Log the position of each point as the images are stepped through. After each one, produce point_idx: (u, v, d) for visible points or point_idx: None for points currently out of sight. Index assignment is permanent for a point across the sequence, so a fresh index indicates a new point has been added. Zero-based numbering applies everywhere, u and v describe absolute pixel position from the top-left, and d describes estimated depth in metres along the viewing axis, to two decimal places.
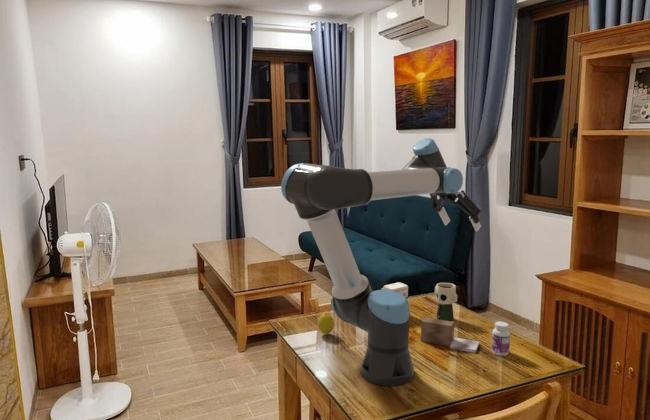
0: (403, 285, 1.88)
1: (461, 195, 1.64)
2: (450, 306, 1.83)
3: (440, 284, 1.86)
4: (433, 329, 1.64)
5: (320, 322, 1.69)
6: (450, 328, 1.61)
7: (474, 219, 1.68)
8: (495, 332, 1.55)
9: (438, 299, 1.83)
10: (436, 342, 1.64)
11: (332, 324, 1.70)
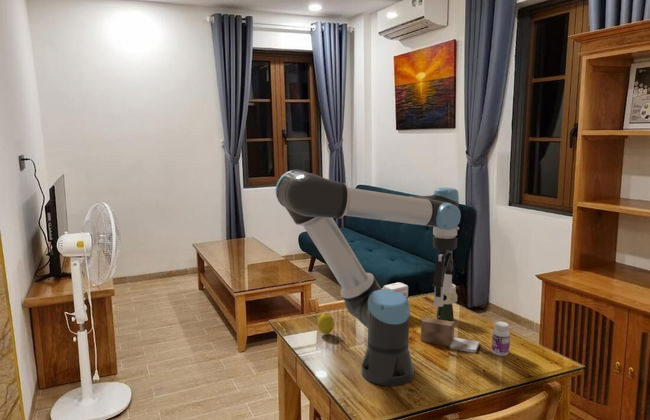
0: (403, 285, 1.88)
1: (438, 257, 1.55)
2: (450, 306, 1.83)
3: None
4: (433, 329, 1.64)
5: (320, 322, 1.69)
6: (450, 328, 1.61)
7: (436, 290, 1.56)
8: (495, 332, 1.55)
9: None
10: (436, 342, 1.64)
11: (332, 324, 1.70)
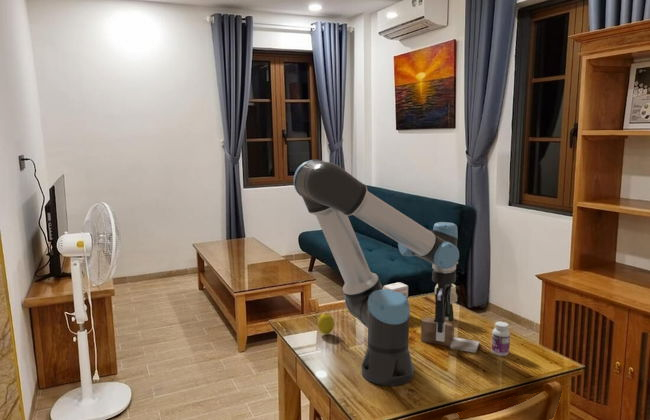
0: (403, 285, 1.88)
1: (437, 297, 1.57)
2: (450, 306, 1.83)
3: None
4: (433, 329, 1.64)
5: (320, 322, 1.69)
6: (450, 328, 1.61)
7: (438, 326, 1.62)
8: (495, 332, 1.55)
9: None
10: (436, 342, 1.64)
11: (332, 324, 1.70)
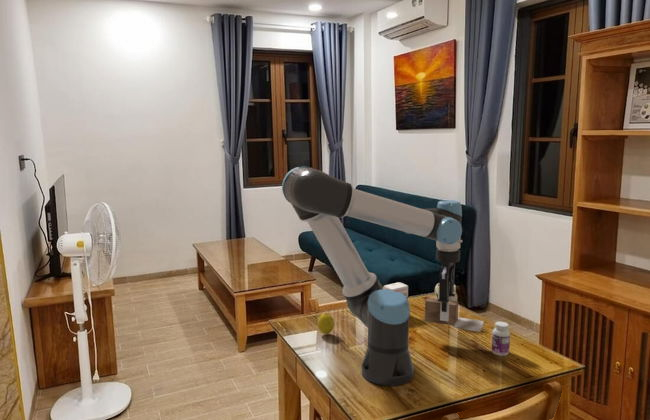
0: (403, 285, 1.88)
1: (441, 275, 1.55)
2: None
3: None
4: (437, 309, 1.62)
5: (320, 322, 1.69)
6: (454, 307, 1.60)
7: (442, 305, 1.60)
8: (495, 332, 1.55)
9: None
10: (440, 322, 1.63)
11: (332, 324, 1.70)
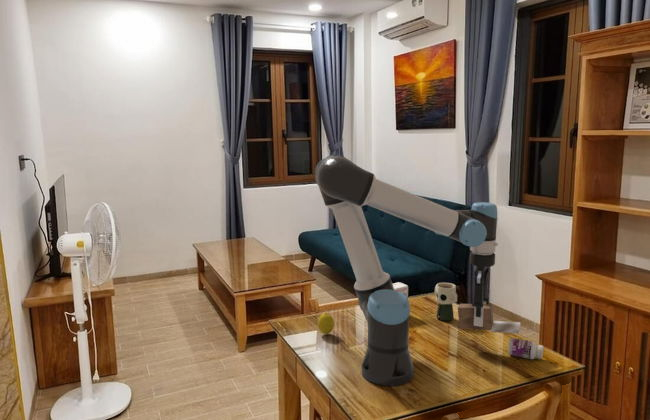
0: (403, 285, 1.88)
1: (476, 280, 1.51)
2: (450, 306, 1.83)
3: (440, 284, 1.86)
4: (471, 314, 1.58)
5: (320, 322, 1.69)
6: (489, 311, 1.55)
7: (476, 310, 1.56)
8: (533, 348, 1.51)
9: (438, 299, 1.83)
10: (476, 327, 1.58)
11: (332, 324, 1.70)
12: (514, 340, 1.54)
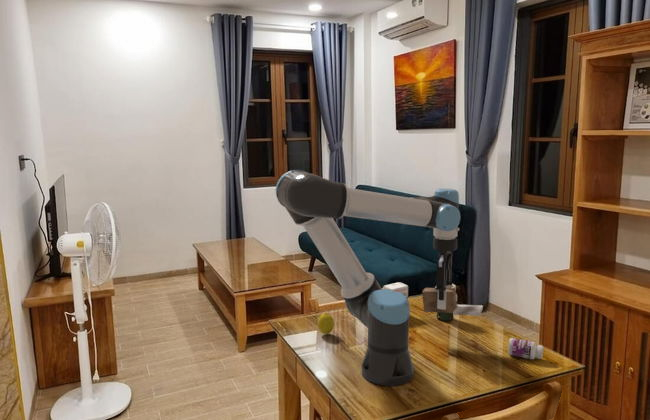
0: (403, 285, 1.88)
1: (438, 263, 1.55)
2: None
3: None
4: (435, 298, 1.62)
5: (320, 322, 1.69)
6: (451, 294, 1.60)
7: (439, 294, 1.60)
8: (533, 348, 1.51)
9: None
10: (439, 311, 1.62)
11: (332, 324, 1.70)
12: (514, 340, 1.54)
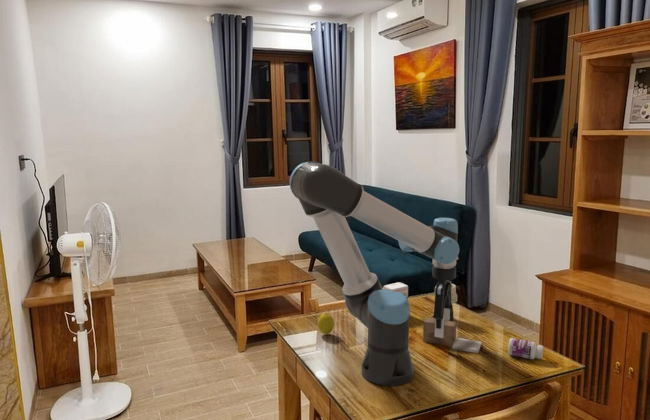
0: (403, 285, 1.88)
1: (437, 290, 1.56)
2: None
3: None
4: None
5: (320, 322, 1.69)
6: (452, 328, 1.61)
7: None
8: (533, 348, 1.51)
9: None
10: (438, 342, 1.64)
11: (332, 324, 1.70)
12: (514, 340, 1.54)
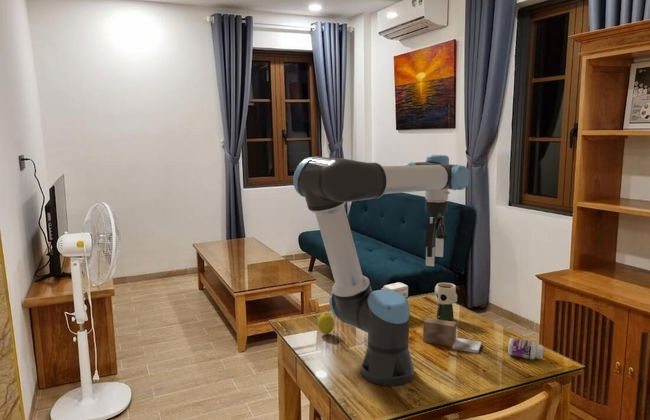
0: (403, 285, 1.88)
1: (429, 219, 1.64)
2: (450, 306, 1.83)
3: (440, 284, 1.86)
4: (435, 329, 1.64)
5: (320, 322, 1.69)
6: (452, 328, 1.61)
7: None
8: (533, 348, 1.51)
9: (438, 299, 1.83)
10: (438, 342, 1.64)
11: (332, 324, 1.70)
12: (514, 340, 1.54)
